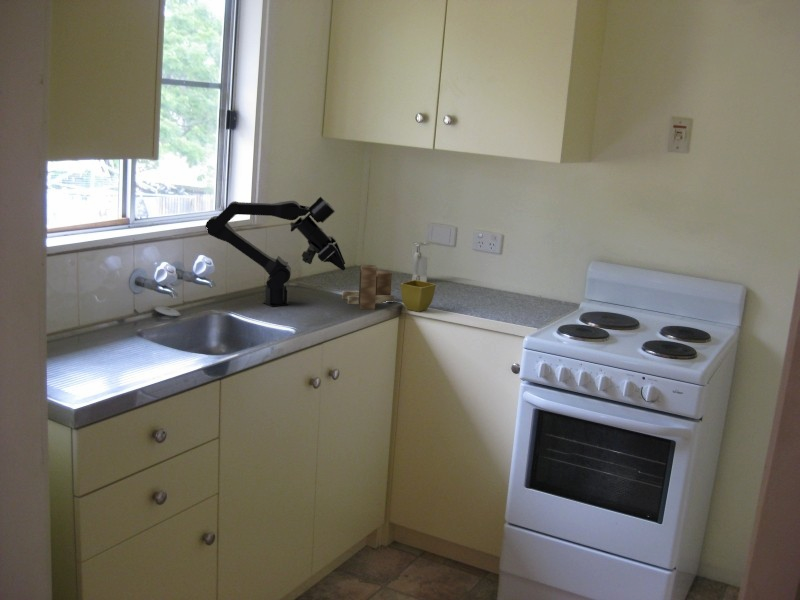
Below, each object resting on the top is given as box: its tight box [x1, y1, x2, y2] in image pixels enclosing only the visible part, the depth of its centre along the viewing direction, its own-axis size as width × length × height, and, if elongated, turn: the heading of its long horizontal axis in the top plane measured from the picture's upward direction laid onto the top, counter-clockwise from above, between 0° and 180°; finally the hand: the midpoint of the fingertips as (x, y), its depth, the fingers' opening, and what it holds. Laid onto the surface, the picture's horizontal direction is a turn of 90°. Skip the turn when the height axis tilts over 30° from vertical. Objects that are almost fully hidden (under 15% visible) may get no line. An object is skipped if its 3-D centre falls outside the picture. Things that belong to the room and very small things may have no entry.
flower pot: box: [400, 279, 437, 313], centre depth 298 cm, size 9×9×9 cm
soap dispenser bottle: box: [410, 241, 431, 282], centre depth 342 cm, size 7×7×15 cm
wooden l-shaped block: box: [341, 270, 395, 305], centre depth 307 cm, size 16×9×10 cm, turn 108°
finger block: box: [358, 264, 378, 310], centre depth 297 cm, size 5×5×14 cm
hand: (344, 266), depth 295 cm, fingers open, 9 cm apart
